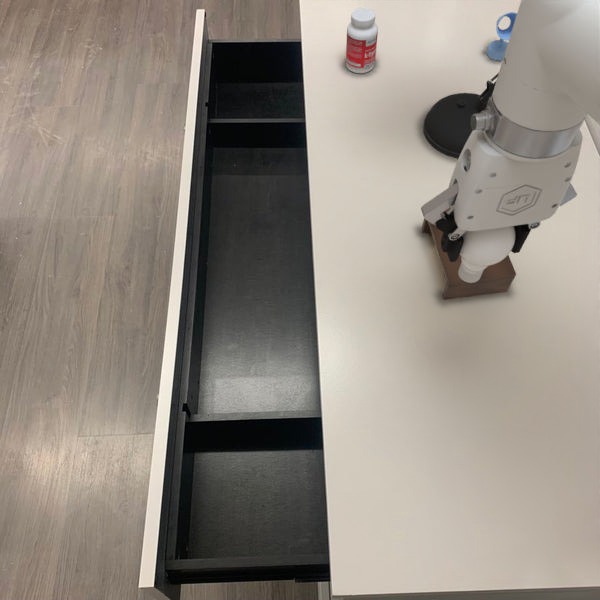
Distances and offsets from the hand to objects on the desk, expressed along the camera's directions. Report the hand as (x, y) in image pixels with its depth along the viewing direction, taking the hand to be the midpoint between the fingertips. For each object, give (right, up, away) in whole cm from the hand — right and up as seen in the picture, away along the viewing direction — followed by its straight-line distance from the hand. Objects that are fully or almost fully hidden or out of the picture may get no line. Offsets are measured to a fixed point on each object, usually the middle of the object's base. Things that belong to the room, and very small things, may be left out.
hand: (480, 246), depth 60 cm
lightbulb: (0, -3, +5) cm, 6 cm away
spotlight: (+21, +46, +52) cm, 72 cm away
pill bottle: (-8, +44, +52) cm, 69 cm away
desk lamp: (+10, +26, +41) cm, 49 cm away
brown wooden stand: (+6, +1, +25) cm, 26 cm away
